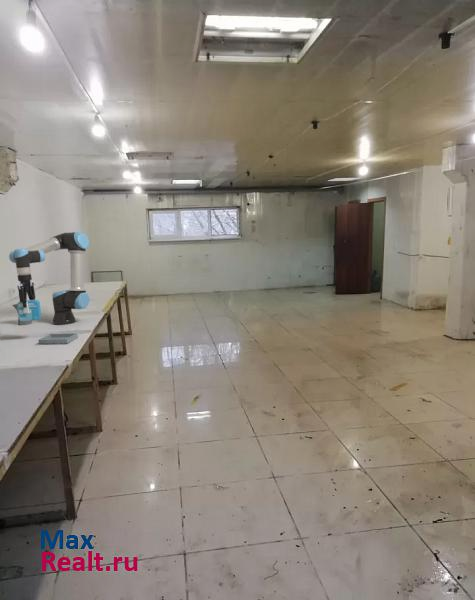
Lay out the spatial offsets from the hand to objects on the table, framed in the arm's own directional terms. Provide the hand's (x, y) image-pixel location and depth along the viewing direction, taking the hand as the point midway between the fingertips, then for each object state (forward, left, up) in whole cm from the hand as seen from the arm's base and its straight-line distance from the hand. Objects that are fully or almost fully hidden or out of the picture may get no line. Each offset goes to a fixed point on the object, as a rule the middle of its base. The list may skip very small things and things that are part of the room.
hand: (29, 311), depth 261 cm
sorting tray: (+6, +20, -18) cm, 27 cm away
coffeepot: (-44, -31, -18) cm, 57 cm away
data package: (0, 0, -6) cm, 6 cm away
